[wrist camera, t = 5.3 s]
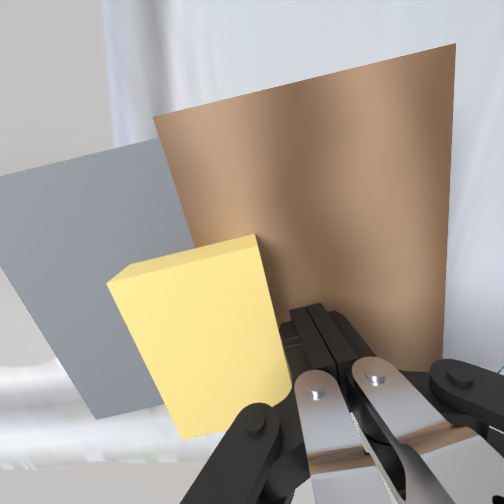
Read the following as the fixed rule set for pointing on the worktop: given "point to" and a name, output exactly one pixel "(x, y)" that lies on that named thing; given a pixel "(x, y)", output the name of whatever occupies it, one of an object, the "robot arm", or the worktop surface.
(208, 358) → the yellow rectangular block
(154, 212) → the mat
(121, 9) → the worktop surface
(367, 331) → the brown wooden block
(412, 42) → the worktop surface
